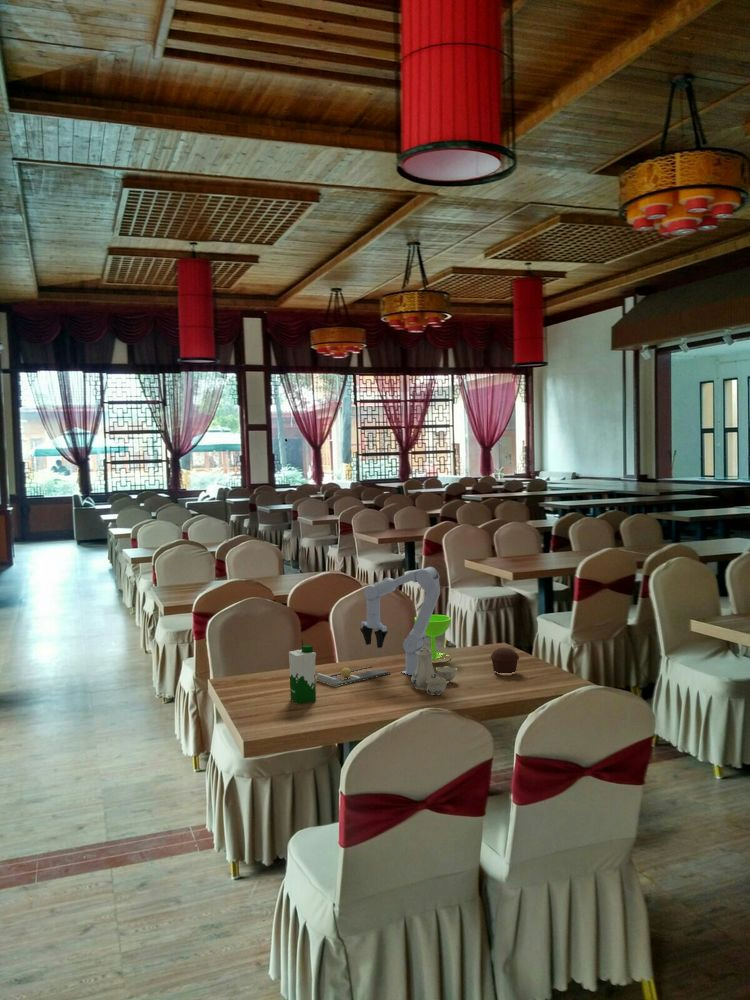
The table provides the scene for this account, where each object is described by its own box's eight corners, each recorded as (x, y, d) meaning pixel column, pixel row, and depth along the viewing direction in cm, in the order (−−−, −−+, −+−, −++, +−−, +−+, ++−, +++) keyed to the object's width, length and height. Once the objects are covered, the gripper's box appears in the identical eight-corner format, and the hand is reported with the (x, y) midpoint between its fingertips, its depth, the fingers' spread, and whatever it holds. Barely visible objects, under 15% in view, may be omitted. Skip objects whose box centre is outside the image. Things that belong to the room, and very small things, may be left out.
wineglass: (409, 656, 360) (409, 616, 360) (443, 653, 365) (442, 613, 364) (422, 665, 345) (422, 623, 344) (457, 661, 350) (456, 620, 349)
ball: (353, 677, 325) (352, 667, 325) (347, 679, 322) (347, 669, 322) (345, 675, 328) (344, 666, 327) (339, 678, 324) (338, 668, 324)
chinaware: (448, 703, 296) (452, 659, 294) (403, 697, 299) (407, 653, 298) (457, 682, 323) (460, 641, 322) (415, 677, 326) (419, 636, 325)
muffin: (484, 673, 330) (484, 648, 330) (502, 668, 338) (501, 644, 337) (508, 678, 322) (507, 653, 321) (525, 673, 329) (525, 648, 329)
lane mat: (390, 674, 332) (389, 666, 331) (335, 687, 314) (334, 679, 314) (371, 668, 341) (371, 661, 341) (317, 681, 323) (316, 673, 323)
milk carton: (319, 701, 295) (318, 647, 294) (296, 705, 291) (294, 650, 290) (309, 695, 303) (308, 642, 302) (287, 699, 299) (285, 645, 298)
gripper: (392, 614, 335) (392, 647, 336) (369, 610, 346) (370, 641, 347) (378, 617, 331) (379, 650, 331) (356, 612, 342) (357, 644, 342)
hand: (374, 646), depth 339 cm, fingers open, 7 cm apart
